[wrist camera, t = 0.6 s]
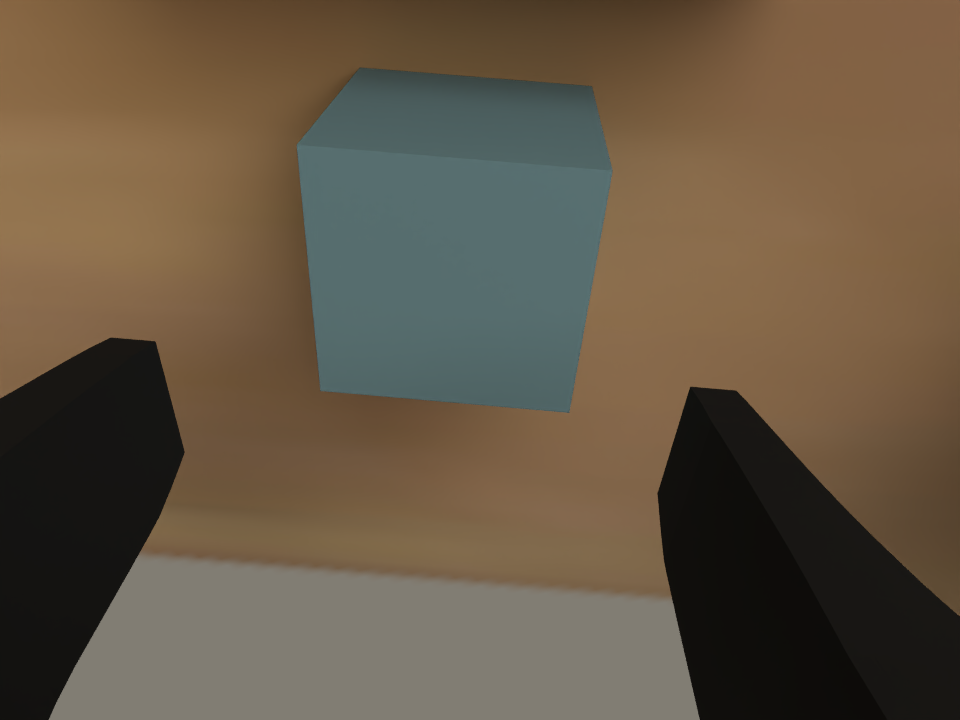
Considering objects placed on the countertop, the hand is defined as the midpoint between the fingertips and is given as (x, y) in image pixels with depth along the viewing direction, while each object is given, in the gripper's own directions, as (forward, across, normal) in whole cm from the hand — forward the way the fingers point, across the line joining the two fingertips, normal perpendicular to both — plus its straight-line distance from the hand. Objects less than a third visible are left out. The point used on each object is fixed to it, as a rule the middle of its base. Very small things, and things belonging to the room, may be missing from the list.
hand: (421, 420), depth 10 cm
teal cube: (+8, 0, 0) cm, 8 cm away
